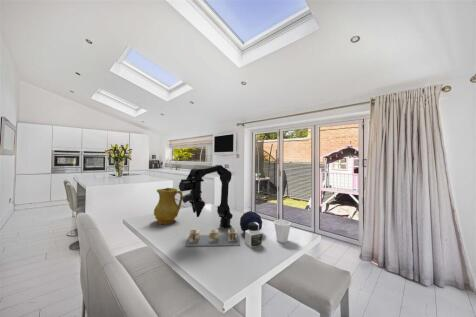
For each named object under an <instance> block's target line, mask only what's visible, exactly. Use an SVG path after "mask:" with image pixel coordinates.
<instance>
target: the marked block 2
mask: <svg viewBox="0 0 476 317" xmlns="http://www.w3.org/2000/svg"><path fill="white" fill-rule="evenodd" d="M227 235H228V241H237V235H238V232H237V229H236V228H235V229H233V228H232V229H231V228H230V229H229V228H228V230H227Z"/></svg>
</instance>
